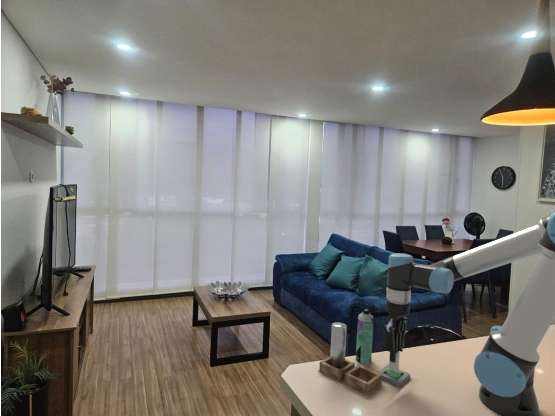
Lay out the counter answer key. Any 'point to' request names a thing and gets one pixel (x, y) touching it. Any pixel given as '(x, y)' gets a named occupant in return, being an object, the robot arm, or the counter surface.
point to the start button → (393, 373)
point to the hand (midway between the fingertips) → (393, 370)
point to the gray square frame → (397, 382)
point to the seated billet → (338, 345)
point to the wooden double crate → (352, 376)
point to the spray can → (364, 337)
